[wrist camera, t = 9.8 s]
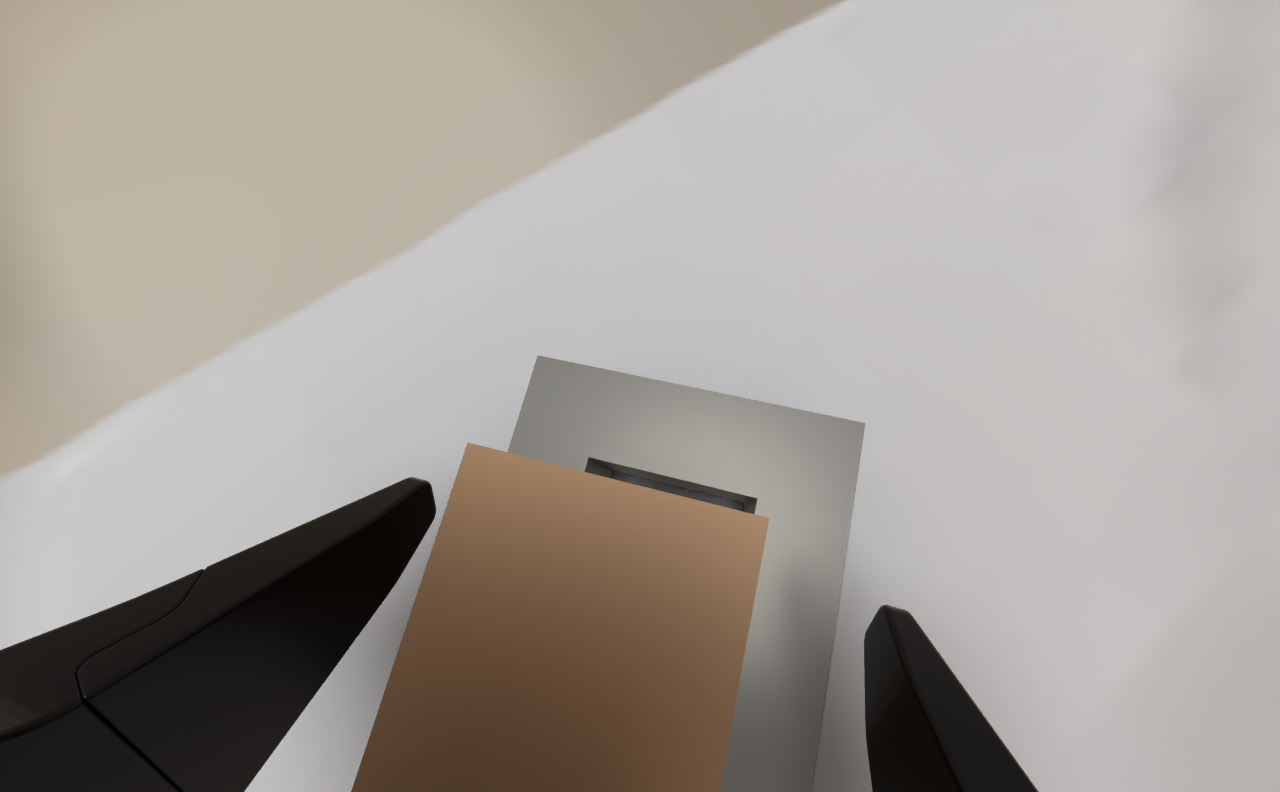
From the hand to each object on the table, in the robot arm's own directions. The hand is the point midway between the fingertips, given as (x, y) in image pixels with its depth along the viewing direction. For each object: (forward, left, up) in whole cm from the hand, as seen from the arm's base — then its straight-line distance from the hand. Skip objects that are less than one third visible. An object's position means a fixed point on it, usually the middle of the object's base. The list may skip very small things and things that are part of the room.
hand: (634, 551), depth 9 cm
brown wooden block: (-1, 0, -8) cm, 8 cm away
